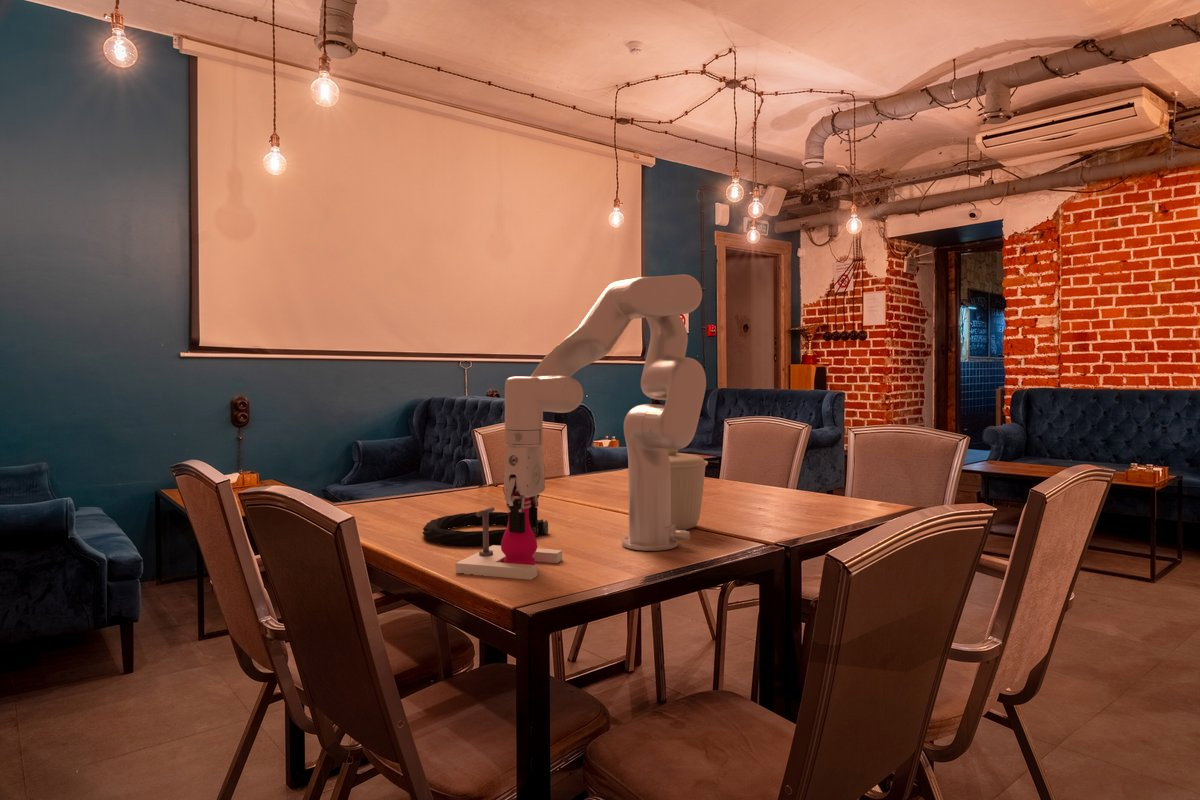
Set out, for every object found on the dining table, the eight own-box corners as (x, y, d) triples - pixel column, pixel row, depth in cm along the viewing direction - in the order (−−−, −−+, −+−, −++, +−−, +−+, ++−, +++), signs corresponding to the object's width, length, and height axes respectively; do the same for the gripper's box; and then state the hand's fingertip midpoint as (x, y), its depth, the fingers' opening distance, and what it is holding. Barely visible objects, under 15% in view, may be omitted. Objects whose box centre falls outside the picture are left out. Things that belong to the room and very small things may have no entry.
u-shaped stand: (562, 559, 158) (561, 505, 158) (530, 579, 143) (530, 520, 143) (493, 554, 163) (492, 502, 163) (455, 573, 148) (454, 515, 148)
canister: (674, 517, 203) (673, 438, 202) (723, 528, 189) (723, 443, 188) (621, 525, 192) (620, 442, 192) (668, 538, 178) (668, 448, 177)
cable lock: (437, 510, 198) (552, 509, 197) (437, 525, 198) (552, 524, 197) (408, 533, 170) (542, 532, 170) (408, 549, 171) (542, 549, 170)
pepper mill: (498, 565, 154) (497, 466, 154) (533, 562, 156) (532, 465, 156) (504, 573, 147) (503, 470, 147) (541, 570, 149) (539, 468, 149)
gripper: (523, 442, 142) (522, 539, 142) (557, 436, 158) (557, 523, 158) (486, 441, 144) (486, 536, 145) (524, 435, 160) (524, 520, 161)
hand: (523, 528), depth 151 cm, fingers closed on pepper mill, 5 cm apart
